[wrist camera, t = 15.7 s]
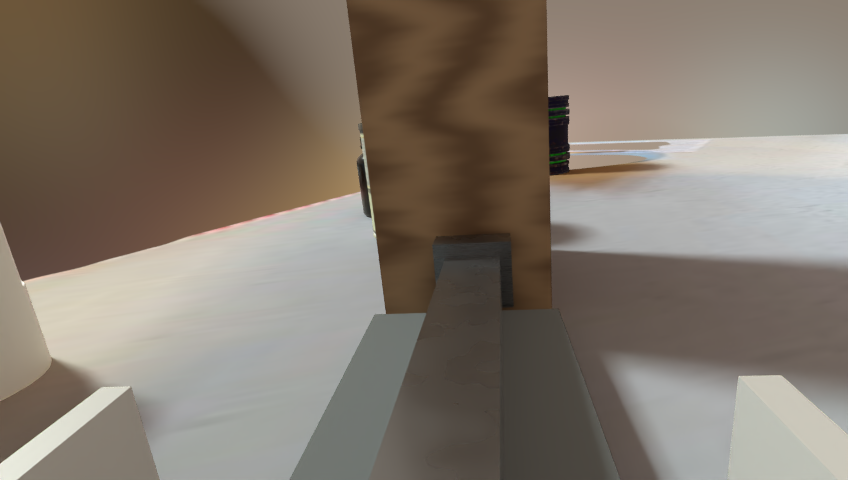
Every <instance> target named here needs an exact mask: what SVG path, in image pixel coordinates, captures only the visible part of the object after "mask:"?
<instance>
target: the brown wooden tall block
mask: <svg viewBox="0 0 848 480" xmlns="http://www.w3.org/2000/svg"><path fill="white" fill-rule="evenodd" d="M347 8H348V16H349V24H350V32H351V40H352V47H353V55H354V64H355V71H356V80H357V87H358V95H359V102H360V111H361V119H362V127H363V135H364V143H365V151H366V159H367V167H368V175H369V183H370V191H371V199H372V206H373V214H374V222H375V230H376V238H377V246H378V254H379V262H380V270H381V278H382V286H383V294H384V302H385V309H386V314H407V313H427V310H428V307H429V304H430V301H431V298H432V295H433V292H434V289H435V287H436V281H435V270H434V259H433V248H432V244H433V242H434V240H435V238H436V236H454V235H475V234H496V233H510V236H511V254H512V277H513V301H514V307H508V308H502V310H532V309H552V286H551V230H550V175H549V120H548V64H547V10H546V0H347Z"/></svg>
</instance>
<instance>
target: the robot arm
mask: <svg viewBox="0 0 848 480" xmlns="http://www.w3.org/2000/svg"><path fill="white" fill-rule="evenodd" d="M0 480H160V479H159V476H158V473H157V470H156V466H155V463H154V460H153V457H152V453H151V450H150V447H149V444H148V440H147V437H146V434H145V430H144V427H143V424H142V421H141V417H140V414H139V411H138V408H137V404H136V401H135V398H134V395H133V391H132V388H131V387H101V388H100V389H98V390H97V391H96V392H94V393H93V394H92V395H90V396H89V397H88V398H87V399H85V400H84V401H83V402H81V403H80V404H79V405H77V406H76V407H75V408H73V409H72V410H71V411H69V412H68V413H67V414H65V415H64V416H63V417H61V418H60V419H59V420H57V421H56V422H55V423H53V424H52V425H51V426H49V427H48V428H47V429H45V430H44V431H43V432H41V433H40V434H39V435H37V436H36V437H35V438H33V439H32V440H31V441H29V442H28V443H27V444H25V445H24V446H23V447H21V448H20V449H19V450H17V451H16V452H15V453H13V454H12V455H11V456H9V457H8V458H7V459H6V460H4V461H3V462H2V463H0ZM727 480H848V434H847V433H845V432H844V431H843V430H842V429H841V428H840V427H839V426H838V425H836V424H835V423H834V422H833V421H832V420H831V419H830V418H829V417H827V416H826V415H825V414H824V413H823V412H822V411H821V410H820V409H819V408H817V407H816V406H815V405H814V404H813V403H812V402H811V401H810V400H808V399H807V398H806V397H805V396H804V395H803V394H802V393H801V392H799V391H798V390H797V389H796V388H795V387H794V386H793V385H792V384H791V383H789V382H788V381H787V380H786V379H785V378H784V377H783V376H782V375H765V376H738V385H737V394H736V403H735V413H734V422H733V431H732V441H731V450H730V459H729V469H728V478H727Z"/></svg>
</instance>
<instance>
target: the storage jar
mask: <svg viewBox="0 0 848 480" xmlns="http://www.w3.org/2000/svg"><path fill="white" fill-rule="evenodd" d="M568 99H569V96H568V95H565V96H556V97H548V120H549V175H557V174H563V173H567V172H569V167H568V164H569V160H567V159H569V158H570V153H569V152H567V151H569V148H570V147H569V144H568V124H569V116H566V115H567V114H569V109H566V107H568V106H569V103H568Z"/></svg>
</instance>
